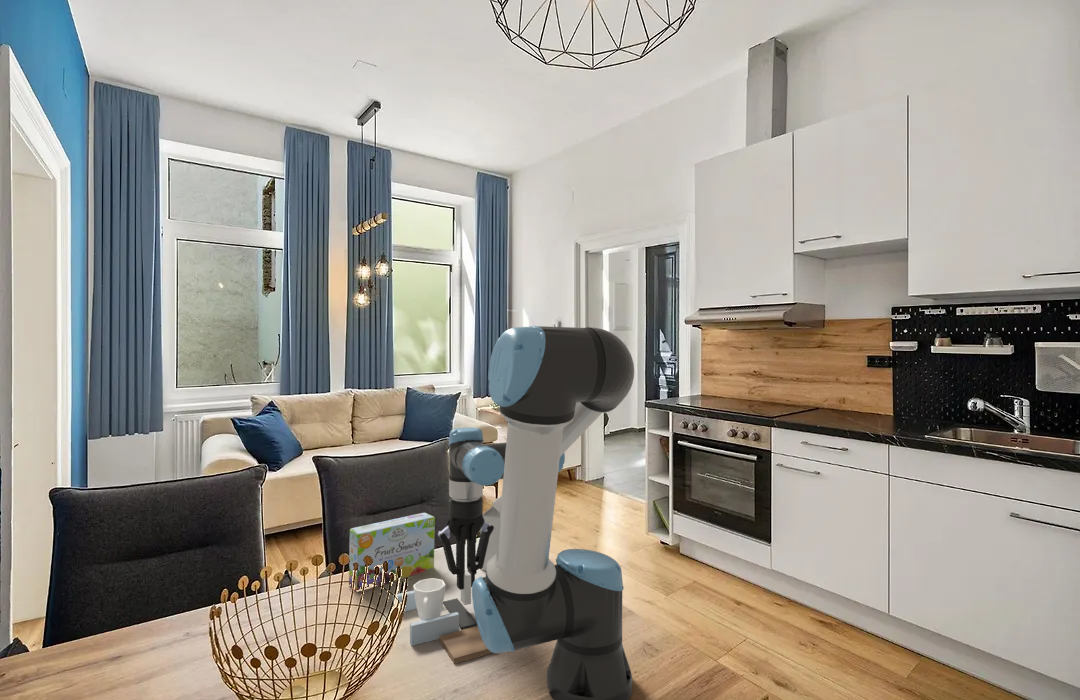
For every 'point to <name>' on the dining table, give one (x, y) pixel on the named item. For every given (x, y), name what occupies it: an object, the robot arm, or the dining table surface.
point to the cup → (429, 597)
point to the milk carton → (494, 519)
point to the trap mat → (460, 613)
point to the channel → (429, 623)
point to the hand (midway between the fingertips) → (465, 601)
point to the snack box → (393, 547)
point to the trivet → (464, 644)
